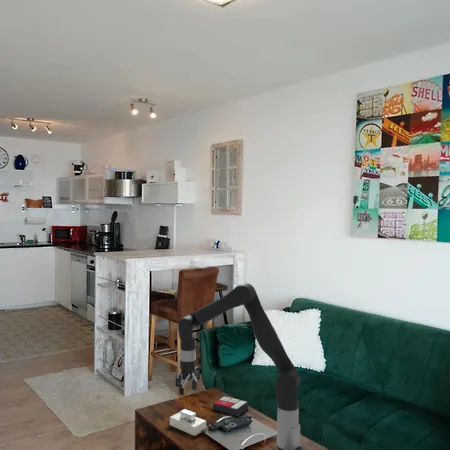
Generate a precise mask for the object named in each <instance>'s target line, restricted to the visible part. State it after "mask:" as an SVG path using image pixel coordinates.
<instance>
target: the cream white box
mask: <svg viewBox="0 0 450 450" xmlns="http://www.w3.org/2000/svg"><path fill="white" fill-rule="evenodd" d="M169 425H170V427H173V428H176V429H178V430H180V431H182V432H185V433H188V434H189V435H191V436H196V435H199V434H200V433H202V432H201V430H202V429H203V428H205V427H206V428H207V420H205V419H202V418H200V417H197V416H196V418H195V421H194V422H192V423H190V422H189V420H188V419H184V420H183V419H181V416H180V411H179V412H177V413H175V414H172V415H171V416H169Z"/></svg>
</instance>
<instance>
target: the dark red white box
mask: <svg viewBox="0 0 450 450" xmlns="http://www.w3.org/2000/svg"><path fill="white" fill-rule="evenodd" d="M248 409H249V402H248V401H245V400H241V399H238V398H232V397H228V396H223V397H221V398H219V399H218V400H217V401H215V402H213V403H212V410H214V411H217V410H218V411H217V412H220V411H221V412H222V413H225V414H229V415H232V416H234V415H239V414H240V415H241V414H243V413H244V412H245V411H247V410H248ZM240 415H239V416H240Z"/></svg>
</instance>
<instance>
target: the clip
mask: <svg viewBox="0 0 450 450" xmlns="http://www.w3.org/2000/svg"><path fill="white" fill-rule="evenodd" d="M179 412H180V416H181V419H183V420H184V419H188V420H189V422H190V423H192V422H194V421H195V418H196V417H197V414H196V412H193V411H192V410H188V409H186V408H184V409H182V410H180V411H179Z"/></svg>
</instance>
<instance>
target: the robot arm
mask: <svg viewBox="0 0 450 450" xmlns="http://www.w3.org/2000/svg"><path fill="white" fill-rule="evenodd" d="M241 306H244V308H245V310H246V311H247V313H248V316H249V320H250V325H251V329H252V332H253V336H254V338H255V340H256V341H257V344H258V345H259V348H261V350H262V351H263V352H264V353H265V354H266V355H267V356H268V357H269V358H270V359H271V361H272V362H273V364H274V365H275V368H276V370H277V372H278V375H277V377H276V380H275V397H276V398H275V399H276V400H275V401H276V405H277V406H276V407H277V408H276V409H277V412H276V414H277V415H276V446H277V447H278V448H279V449H281V450H297V449H298V448H299V447H300V446H301V423H300V424H299V410H300V409H299V408H300V407H299V404H300V403H299V400H298V387H299V385H300V384H301V376H300V373H299V371H298V369H297V367H295V365H294V364H293V362H292V360H291V359H290V357H289V356H288V354H287V351H286V350H285V348H284V346H283V343H282V341H281V340H280V338H279V336H278V334H277V332H276V329H275V327H274V326H273V324H272V323H271V320H270V319H269V317H268V315H267V313H266V312H265V310H264V308H263V305H262V303H261V300H260V298H259V296H258V293H257V291H256V289H255V287H254V286H253V285H252V284H250V283H249V282H243V283H240V284H237V285H236V286H235V287H234V288H233V289H232V290H231V291H230V292H228V293H226V294H225V295H224V296H222V297H221V298H219V299H217V300H214V301H213V302H210V303H208V304H206V305H204V306H203V307H201V308H198V309H197V310H195V311H194V312H192V313H189V314H188V315H185V316H184V317H181V318H180V319H179V321H178V323H177V331H178V336H179V339H180V340H179V341H180V344H179V345H180V347H179V349H180V351H179V368H180V370H181V371H180V373H176V374H175V383H174V384H175V387H176V388H178V395H179V396H184V395H185V391H184V390H185V385H186V384H187V382H188V381H191V389H192V390H193V391H196V390H197V386H198V385H197V384H198V383H197V382H198V380H200V379H201V374H200V373H201V372H200V371H201V370H200V369H201V368H200V367H199V366H197V353H196V351H197V350H196V339H195V336H193V330H194V329H196V328H198V327H200V326H201V325H204V324H206V323H208V322H210V321H212V320H214V319H216V318H217V317H220V316H221V315H223V314H224V313H226V312H227V311H229V310H232V309H234V308H237V307H238V308H239V307H241Z"/></svg>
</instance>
